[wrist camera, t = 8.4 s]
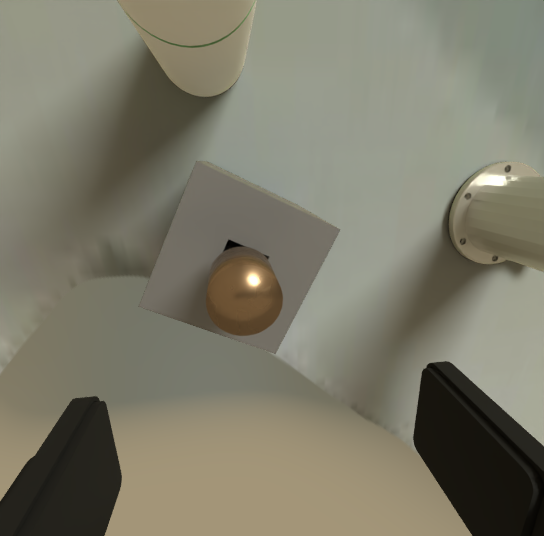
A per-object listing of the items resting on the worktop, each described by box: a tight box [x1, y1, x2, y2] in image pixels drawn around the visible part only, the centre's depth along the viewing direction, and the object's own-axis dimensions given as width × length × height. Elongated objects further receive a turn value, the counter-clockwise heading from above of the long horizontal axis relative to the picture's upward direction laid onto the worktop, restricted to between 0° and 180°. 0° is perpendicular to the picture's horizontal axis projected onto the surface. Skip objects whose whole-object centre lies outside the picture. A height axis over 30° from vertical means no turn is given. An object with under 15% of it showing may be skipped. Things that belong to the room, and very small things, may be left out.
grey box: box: [139, 161, 340, 354], centre depth 31 cm, size 11×11×15 cm
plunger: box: [206, 239, 283, 336], centre depth 27 cm, size 8×8×20 cm
